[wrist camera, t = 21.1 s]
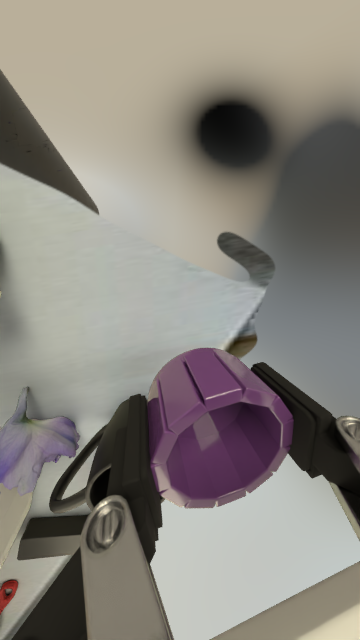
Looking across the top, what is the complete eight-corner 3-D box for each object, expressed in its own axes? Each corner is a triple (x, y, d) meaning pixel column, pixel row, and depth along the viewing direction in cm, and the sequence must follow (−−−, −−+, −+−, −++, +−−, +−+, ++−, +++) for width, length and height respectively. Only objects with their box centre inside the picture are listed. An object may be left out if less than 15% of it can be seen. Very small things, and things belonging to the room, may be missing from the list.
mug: (68, 406, 23) (22, 491, 14) (157, 382, 25) (165, 445, 16) (88, 450, 26) (59, 547, 17) (168, 426, 27) (180, 501, 18)
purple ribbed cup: (137, 361, 9) (135, 418, 6) (244, 337, 10) (299, 372, 6) (158, 446, 11) (166, 528, 7) (246, 418, 12) (290, 479, 8)
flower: (-94, 436, 14) (-47, 559, 13) (31, 375, 18) (76, 465, 17) (-20, 418, 22) (13, 493, 21) (55, 379, 26) (86, 440, 25)
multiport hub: (102, 532, 27) (105, 513, 30) (20, 539, 25) (30, 517, 27) (96, 551, 28) (100, 531, 31) (16, 560, 25) (26, 537, 28)
